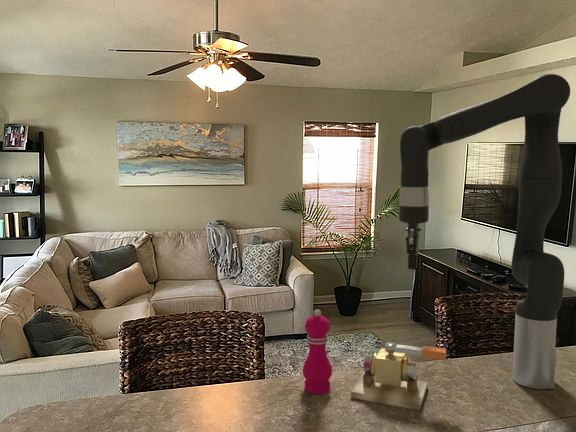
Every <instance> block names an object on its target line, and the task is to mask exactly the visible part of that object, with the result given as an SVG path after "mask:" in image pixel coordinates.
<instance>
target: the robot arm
mask: <svg viewBox="0 0 576 432" xmlns="http://www.w3.org/2000/svg"><path fill="white" fill-rule="evenodd" d="M570 96H571V86H570V83H569V82H568V81H567V79H566V78H565V77H563V76H562V75H559V74H555V73H545V74H542V75H540V76H538V77H535V78H534V79H533V80H531V81H529V82H528V83H526V84H524V85H522V86H520V87H518V88H516V89H515V90H513V91H510V92H507V93H506V94H503V95H500V96H498V97H495V98H492V99H490V100H487V101H483V102H481V103H478V104H475V105H471V106H468V107H466V108H462V109H459V110H457V111H454V112H451V113H448V114H445V115H443V116H441V117H439V118H437V119H436V120H434V121H431V122H428V123H425V124H422V125H413V126H409V127H407V128H405V129H404V131H403V132H402V134H401V135H400V139H399V140H400V141H399V146H400V147H399V152H400V163H401V165H400V166H401V167H400V168H401V170H400V190H399V196H398V197H399V199H398V200H399V203H398V205H399V206H398V208H399V209H398V215H399V216H398V220H399V222H400V223H406V224H407V228H405V229H404V236H405V246H406V254H407V257H408V258H407V259H408V260H407V262H408V263H407V269H409V270H417V269H418V255H419V251H420V245H421V235H422V228H420V225H419V224H425V223H426V224H427V223H428V222H429V218H430V217H429V216H430V215H429V212H430V211H429V209H430V206H429V205H430V192H429V167H428V154H429V153H428V152H429V151H431V150H433V149H435V148H438V147H441V146H443V145H445V144H446V145H447V144H451V143H454V142H457V141H461V140H463V139H467V138H470V137H472V136H475V135H477V134H481V133H482V132H485V131H488V130H489V129H492V128H494V127H497V126H500V125H503V124H504V123H507V122H510V121H513V120H517V119H520V118H524V142H523V147H522V153H521V162H520V171H519V172H520V173H519V182H518V183H519V184H518V207H517V220H516V221H517V222H516V234H515V240H514V246H513V252H512V257H511V273H512V275H513V277H514V279H515V280H516V281H517V282H518V283H520V284H522V285H524V286H526V289H527V292H526V297H525V299H520V300H518V301H517V302H516V305H515V316H514V317H515V319H514V322H515V323H514V339H513V341H514V342H513V357H512V358H513V361H512V379H513V381H514V382H515V383H517V385H520V386H523V387H525V388H530V389H534V390H546V389H550V390H551V389H552V390H555V382H556V381H555V380H556V379H555V378H556V366H557V365H556V364H557V363H556V362H557V349H556V341H557V340H556V338H557V337H556V336H557V322H558V319H557V318H558V313H559V312H558V311H559V310H560V308H561V306H562V304H563V303H562V302H563V293H564V287H565V286H564V284H565V267H564V263H563V262H562V260H561V259H560V258H559V257H558V256H556V255H554V254H551V253H548V252H545V250H544V241H545V233H546V232H545V231H546V228H547V225H548V223H549V221H550V219H551V218H552V216H553V215H554V213H555V211H556V209H557V207H558V205H559V202H560V199H561V197H562V196H561V195H562V182H563V179H562V178H563V165H562V157H561V156H562V155H561V150H560V144H559V129H560V120H561V113H562V109H563V107H565V105H566V104H567V102H568V101H569V99H570Z"/></svg>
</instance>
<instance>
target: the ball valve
mask: <svg viewBox="0 0 576 432" xmlns="http://www.w3.org/2000/svg"><path fill="white" fill-rule="evenodd" d="M363 370H364V371H363V372H371V376H374V377H375V382H377V383H383V384H388V385H394V386H401V384H402V382H403V381H405V382H407V381H408V379H414V380H415V379H416V376H417V377H418V362H417V361H412V360H411V358H410V357H408V356H407V355H406V354H405V353H398V352H394V353H389V352H386V351H385V348H382V347H381V348H380V349H379V351H378V352H372V355H371V354H365V357H364V361H363Z"/></svg>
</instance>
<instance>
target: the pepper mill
mask: <svg viewBox="0 0 576 432" xmlns="http://www.w3.org/2000/svg"><path fill="white" fill-rule="evenodd" d="M330 328H331V327H330V322H329V320H328V318H326V316H324V315H322V312H321V310H320V309H315V310H313V315H311V316H309V317H308V318H307V319H306V320H305V323H304V330H305V332H306V333H307V335H306V338H307V339H306V341H307V343H308V345H309V346H308V354H307V356H306V359H305V360H304V362H303V366H302V375H303V377H304V378H305V380H304V390H305V391H306V392H307V393H310V394H313V395H323V394H326V393H328V392H329V391H330V389H331V381H330V379H331V377H332V375H333V368H332V365H331V362H330V360H329V358H328V356H327V352H326V350H327V349H326V345H327V343H328V333H329V331H330Z"/></svg>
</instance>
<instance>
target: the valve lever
mask: <svg viewBox="0 0 576 432" xmlns="http://www.w3.org/2000/svg"><path fill="white" fill-rule="evenodd" d="M384 349H385V351H386V352H389V353H394V352H398V353H405V354H407V355H415V356H421V358H423V359H424V358H425V359H431V360H440V361H446V358H447V349H446V348H442V347H436V346H435V347H433V346H427V345H422V347H420V346H413V345H406V344H396V343H395V342H385V343H384Z"/></svg>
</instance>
